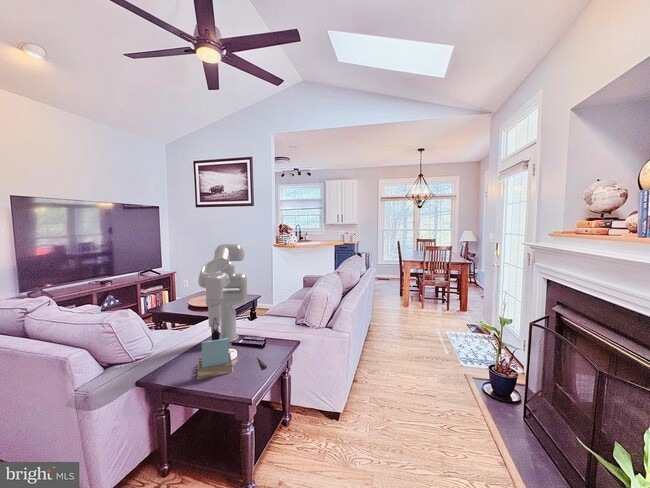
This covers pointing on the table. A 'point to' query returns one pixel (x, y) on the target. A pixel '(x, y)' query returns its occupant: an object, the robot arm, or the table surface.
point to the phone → (261, 364)
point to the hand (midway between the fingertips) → (215, 336)
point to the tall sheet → (215, 352)
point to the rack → (214, 369)
